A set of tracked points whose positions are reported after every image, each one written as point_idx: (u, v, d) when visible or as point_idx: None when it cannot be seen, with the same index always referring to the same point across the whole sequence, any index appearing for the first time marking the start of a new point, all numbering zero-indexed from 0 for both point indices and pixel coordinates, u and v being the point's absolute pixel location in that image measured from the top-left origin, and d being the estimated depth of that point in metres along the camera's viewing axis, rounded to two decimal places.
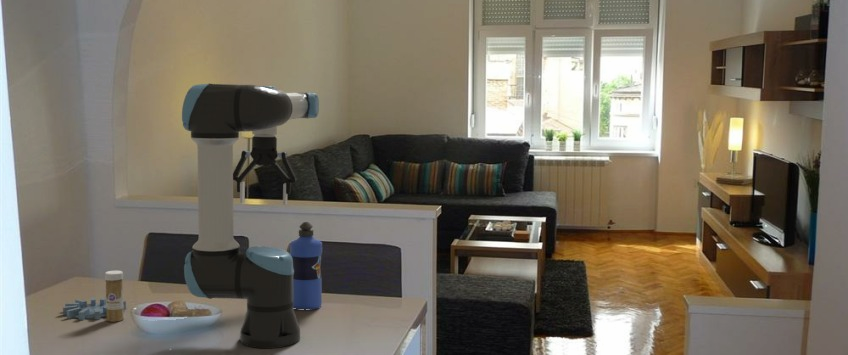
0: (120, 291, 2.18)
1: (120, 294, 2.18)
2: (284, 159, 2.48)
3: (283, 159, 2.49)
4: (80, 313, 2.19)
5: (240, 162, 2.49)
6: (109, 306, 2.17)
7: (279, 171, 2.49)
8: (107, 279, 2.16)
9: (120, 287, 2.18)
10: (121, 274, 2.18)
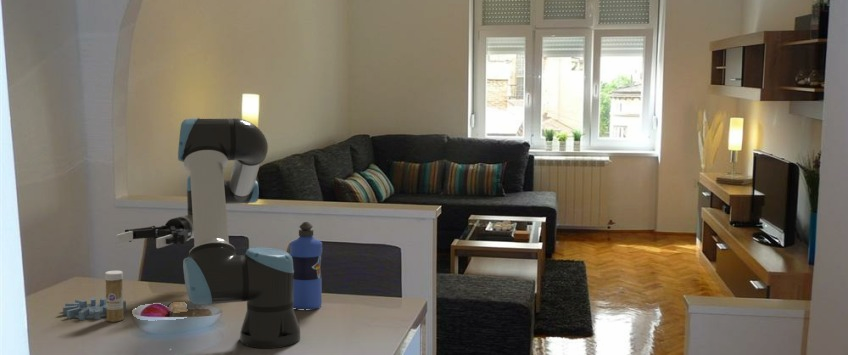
0: (120, 291, 2.18)
1: (120, 294, 2.18)
2: (186, 230, 2.38)
3: (185, 230, 2.38)
4: (80, 313, 2.19)
5: None
6: (109, 306, 2.17)
7: (174, 232, 2.35)
8: (107, 279, 2.16)
9: (120, 287, 2.18)
10: (121, 274, 2.18)
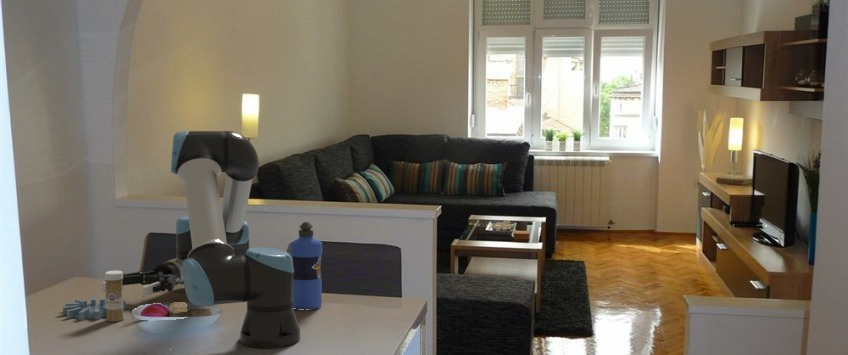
0: (120, 291, 2.18)
1: (120, 294, 2.18)
2: (174, 276, 2.34)
3: (173, 276, 2.34)
4: (80, 313, 2.19)
5: (132, 273, 2.37)
6: (109, 306, 2.17)
7: (162, 278, 2.31)
8: (107, 279, 2.16)
9: (120, 287, 2.18)
10: (121, 274, 2.18)
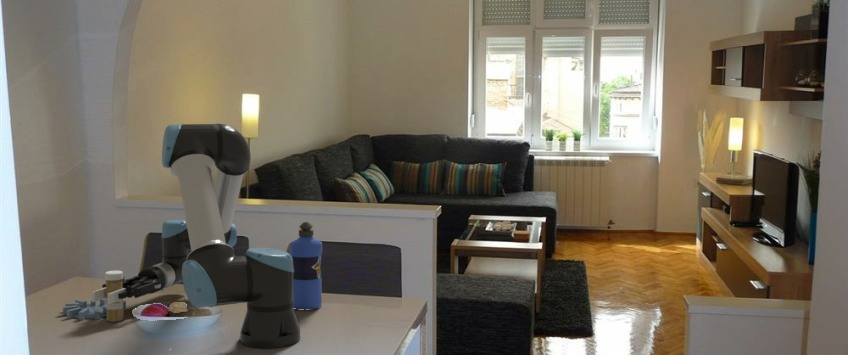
0: None
1: None
2: (153, 282, 2.26)
3: (152, 282, 2.26)
4: (80, 313, 2.19)
5: None
6: (109, 306, 2.17)
7: (136, 284, 2.23)
8: (107, 279, 2.16)
9: (120, 287, 2.18)
10: (121, 274, 2.18)
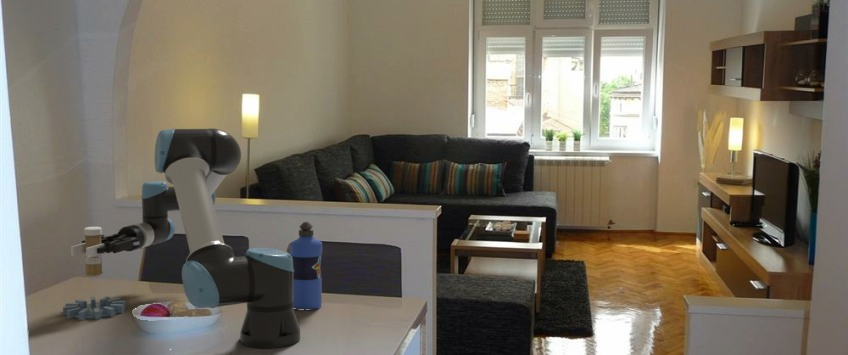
0: None
1: None
2: (131, 239, 2.32)
3: (131, 239, 2.32)
4: (80, 313, 2.19)
5: None
6: (88, 260, 2.23)
7: (115, 241, 2.30)
8: (86, 234, 2.23)
9: (99, 242, 2.24)
10: (100, 230, 2.24)
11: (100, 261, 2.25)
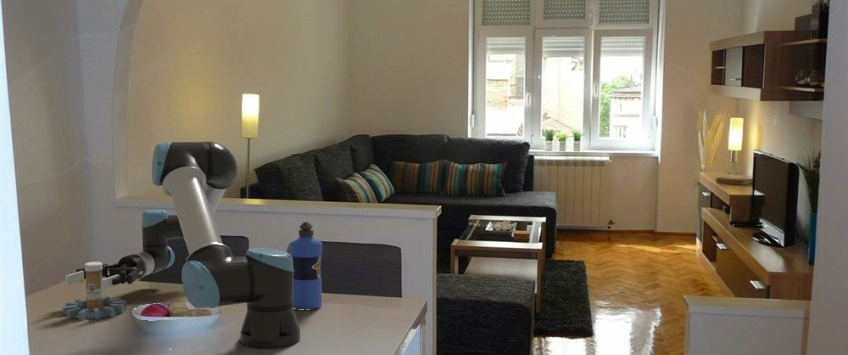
0: (99, 282, 2.25)
1: (99, 284, 2.25)
2: (137, 269, 2.34)
3: (136, 269, 2.34)
4: (80, 313, 2.19)
5: None
6: (89, 296, 2.24)
7: (123, 271, 2.31)
8: (87, 270, 2.24)
9: (99, 278, 2.25)
10: (100, 265, 2.25)
11: (101, 296, 2.26)
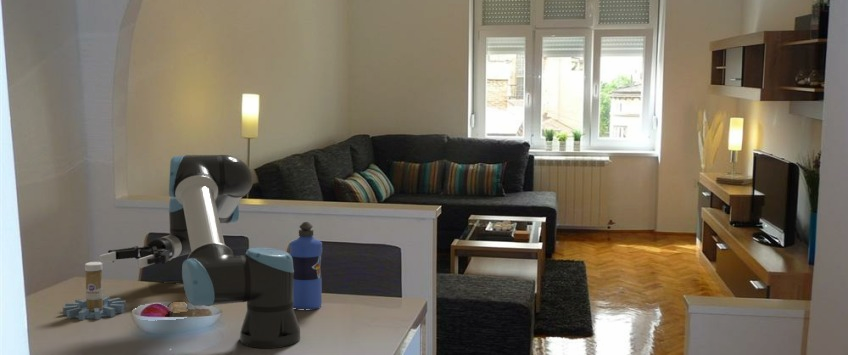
0: (99, 281, 2.25)
1: (99, 284, 2.25)
2: (167, 250, 2.46)
3: (167, 250, 2.46)
4: (80, 313, 2.19)
5: (127, 248, 2.49)
6: (89, 296, 2.24)
7: (156, 252, 2.43)
8: (87, 270, 2.24)
9: (99, 278, 2.25)
10: (100, 265, 2.25)
11: (101, 296, 2.26)
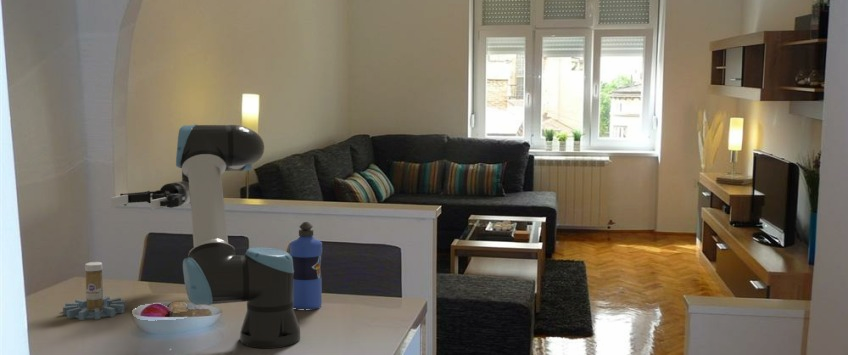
0: (100, 282, 2.25)
1: (100, 284, 2.25)
2: (180, 194, 2.42)
3: (179, 194, 2.42)
4: (80, 313, 2.19)
5: (139, 192, 2.45)
6: (89, 296, 2.24)
7: (168, 195, 2.39)
8: (87, 270, 2.24)
9: (100, 278, 2.25)
10: (100, 265, 2.25)
11: (101, 296, 2.26)
